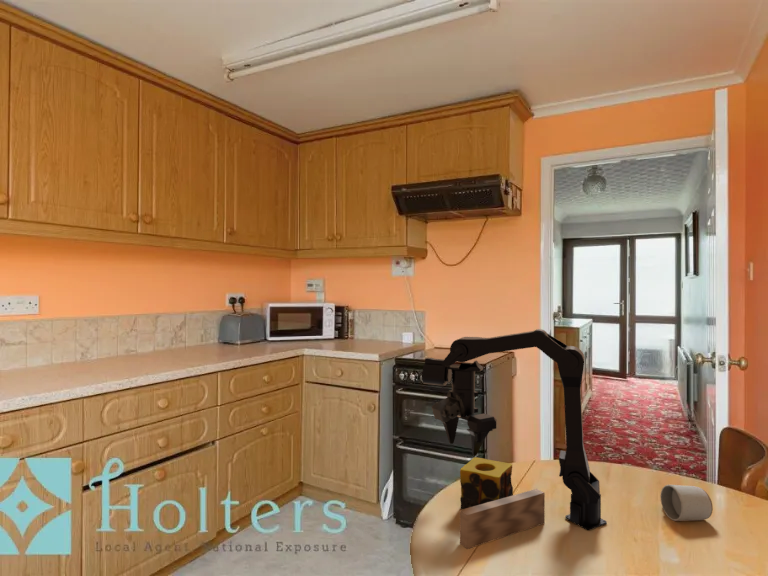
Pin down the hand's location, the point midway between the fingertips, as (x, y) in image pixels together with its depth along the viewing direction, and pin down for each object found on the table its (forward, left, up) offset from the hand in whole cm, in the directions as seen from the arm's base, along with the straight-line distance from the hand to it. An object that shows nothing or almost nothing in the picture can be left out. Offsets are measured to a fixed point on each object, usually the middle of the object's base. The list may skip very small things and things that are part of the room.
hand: (462, 449), depth 120 cm
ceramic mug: (-40, +31, -13) cm, 52 cm away
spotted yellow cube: (-3, +6, -13) cm, 15 cm away
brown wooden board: (+2, +17, -13) cm, 22 cm away
